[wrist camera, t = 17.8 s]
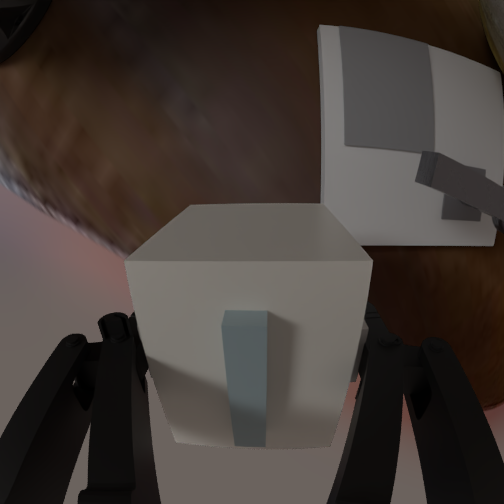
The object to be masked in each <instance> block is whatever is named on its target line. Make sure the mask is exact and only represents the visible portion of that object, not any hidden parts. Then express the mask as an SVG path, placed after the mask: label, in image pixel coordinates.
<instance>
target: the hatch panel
mask: <svg viewBox="0 0 504 504" xmlns="http://www.w3.org/2000/svg"><path fill="white" fill-rule="evenodd" d="M317 39H318V54H319V71H320V95H321V204H324V205H325V206H326V207H327V209H328V210H329V211H330V212H331V213H332V214H333V215H334V216H335V217H336V218H337V220H338V221H339V222H340V223H341V224H342V225H343V226H344V227H345V228H346V230H347V231H348V232H349V233H350V234H351V235H352V236H353V238H354V239H355V240H356V241H357V242H358V243H359V245H404V246H494V242H495V237H496V231H497V229H496V228H495V227H494V224H493V221H492V216H490V215H487V214H485V213H483V212H481V211H478V210H476V209H474V208H471V207H469V206H467V205H464V204H463V203H462V202H461V201H459V200H457V199H455V198H453V197H451V196H448V195H446V194H444V193H441V192H439V191H437V190H434V189H432V188H429V187H427V186H424V185H422V184H419V183H417V182H415V178H416V175H417V171H418V167H419V163H420V159H421V155H422V151H430V152H439V153H441V154H443V155H445V156H447V157H449V158H451V159H453V160H455V161H457V162H459V163H461V164H463V165H465V166H467V167H469V168H471V169H472V170H474V171H476V172H478V173H480V174H481V175H483V176H485V177H487V178H488V179H490V180H492V181H493V182H495V183H497V184H498V185H500V186H502V187H503V175H504V103H503V91H502V82H501V74H500V72H498V71H496V70H494V69H492V68H489V67H487V66H485V65H483V64H480V63H478V62H475V61H473V60H470V59H468V58H465V57H463V56H460V55H457V54H455V53H452V52H449V51H446V50H443V49H440V48H437V47H433V46H430V45H428V44H426V43H423V42H419V41H416V40H412V39H408V38H404V37H400V36H396V35H391V34H386V33H382V32H376V31H371V30H365V29H359V28H353V27H345V26H339V27H338V26H329V25H319V28H318V30H317Z"/></svg>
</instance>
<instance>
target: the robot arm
mask: <svg viewBox="0 0 504 504" xmlns="http://www.w3.org/2000/svg"><path fill="white" fill-rule="evenodd" d="M51 1H52V0H0V62H2V61H4V60H6V59H7V58H8V57H10V56H11V55H12V54H13V53H14V52H15V51H16V50H17V49H18V48H19V47H20V46H21V45H22V44H23V43H24V42H25V41H26V39H27V38H28V37H29V36H30V34H31V33H32V32H33V30H34V29H35V28H36V26H37V25H38V23H39V22H40V20H41V19H42V17H43V15H44V14H45V12H46V10H47V8H48V7H49V5H50V3H51ZM98 326H99V329H100V332H101V334H102V338H103V342H96V343H88V342H87V339H86V337H85V336H84V335H83V334H71V335H68V336H67V337H65V338H63V339H62V340H61V342H60V343H59V344H58V346H57V347H56V349H55V350H54V351H53V353H52V354H51V356H50V357H49V359H48V360H47V362H46V363H45V365H44V366H43V368H42V369H41V371H40V372H39V374H38V375H37V377H36V378H35V380H34V381H33V383H32V385H31V386H30V388H29V389H28V391H27V392H26V394H25V396H24V397H23V399H22V401H21V402H20V404H19V406H18V407H17V409H16V411H15V412H14V414H13V416H12V418H11V419H10V421H9V423H8V425H7V426H6V428H5V430H4V432H3V434H2V436H1V438H0V504H63V502H64V499H65V495H66V492H67V489H68V485H69V482H70V479H71V476H72V473H73V470H74V467H75V464H76V461H77V458H78V455H79V452H80V450H81V447H82V444H83V441H84V439H85V436H86V433H87V431H88V428H89V425H90V423H91V427H90V439H89V455H88V484H87V485H88V486H87V488H86V489H85V490H81V491H80V493H79V495H78V504H161V501H160V495H159V489H158V483H157V476H156V470H155V462H154V455H153V447H152V437H151V427H150V416H149V402H148V385H147V380H146V377H145V374H146V372H147V370H148V368H149V364H148V361H147V357H146V354H145V350H144V347H143V343H142V339H141V336H140V332H139V328H138V324H137V320H136V316H135V311H134V312H133V313H132V315H131V317H129V319H128V316H127V315H126V314H124V313H120V312H115V313H110V314H107V315H105V316H103V317H102V318H101V319H99V321H98ZM149 371H150V368H149ZM358 372H359V375H360V378H361V381H360V384H359V388H358V391H357V395H356V397H355V399H356V402H355V407H354V411H353V416H352V420H351V424H350V428H349V432H348V436H347V440H346V443H345V447H344V451H343V454H342V458H341V461H340V464H339V468H338V471H337V474H336V477H335V480H334V483H333V487H332V489H331V493H330V495H329V498H328V501H327V504H390V502H391V497H392V491H393V486H394V480H395V474H396V468H397V460H398V452H399V444H400V434H401V422H402V406H403V394H404V396H405V400H406V404H407V407H408V411H409V415H410V419H411V423H412V427H413V431H414V435H415V440H416V444H417V449H418V454H419V458H420V463H421V469H422V474H423V480H424V486H425V492H426V498H427V504H504V463H503V460H502V457H501V454H500V452H499V449H498V446H497V444H496V441H495V438H494V436H493V434H492V431H491V428H490V426H489V424H488V421H487V419H486V417H485V414H484V412H483V410H482V407H481V405H480V403H479V401H478V399H477V397H476V395H475V392H474V390H473V388H472V386H471V384H470V382H469V380H468V378H467V376H466V374H465V372H464V370H463V368H462V367H461V365H460V363H459V361H458V359H457V357H456V355H455V354H454V352H453V350H452V348H451V346H450V345H449V344H448V343H447V342H446V341H444V340H443V339H441V338H437V337H430V338H426V339H425V340H423V342H422V345H421V347H417V346H409V345H404V344H403V341H402V339H401V338H400V337H399V336H397V335H395V334H393V333H389V331H388V329H387V328H386V326H385V324H384V322H383V321H382V319H381V318H380V315H379V314H378V313H377V310H376V308H375V307H374V305H372V304H371V303H369V302H368V301H367V304H366V310H365V315H364V321H363V326H362V331H361V336H360V340H359V345H358V350H357V354H356V358H355V363H354V367H353V371H352V375H351V379H350V382H356V379H357V375H358ZM150 375H151V377H152V374H151V371H150ZM152 378H153V377H152ZM74 380H75V383H74V385H73V381H74Z"/></svg>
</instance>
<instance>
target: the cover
mask: <svg viewBox="0 0 504 504" xmlns="http://www.w3.org/2000/svg"><path fill="white" fill-rule="evenodd" d="M124 263H125V268H126V273H127V279H128V284H129V289H130V294H131V298H132V303H133V307H134V311H135V316H136V320H137V324H138V328H139V332H140V336H141V339H142V343H143V347H144V350H145V354H146V357H147V361H148V364H149V368H150V371H151V374H152V377H153V380H154V384H155V387H156V390H157V393H158V396H159V398H160V401H161V404H162V407H163V410H164V413H165V416H166V418H167V421H168V424H169V426H170V429H171V432H172V434H173V437H174V439H175V442H178V443H186V444H193V445H202V446H212V447H224V448H240V449H301V448H319V447H330V446H331V443H332V440H333V437H334V434H335V431H336V428H337V425H338V421H339V418H340V415H341V412H342V408H343V405H344V401H345V398H346V394H347V390H348V387H349V383H350V379H351V375H352V371H353V367H354V363H355V358H356V354H357V350H358V345H359V340H360V336H361V331H362V326H363V321H364V315H365V310H366V304H367V298H368V292H369V286H370V279H371V272H372V265H373V260H372V259H371V258H370V256H369V255H368V254H367V253H366V252H365V250H364V249H363V248H362V247H361V246H360V245H359V243H358V242H357V241H356V240H355V239H354V238H353V236H352V235H351V234H350V233H349V232H348V231H347V230H346V228H345V227H344V226H343V225H342V224H341V223H340V222H339V221H338V220H337V218H336V217H335V216H334V215H333V214H332V213H331V212H330V211H329V210H328V209H327V207H326V206H325V205H324V204H309V203H254V204H206V205H190V206H189V207H188V208H186V209H185V210H184V211H183V212H181V213H180V214H179V215H178V216H176V217H175V218H174V219H173V220H171V221H170V222H169V223H168V224H167V225H165V226H164V227H163V228H162V229H161V230H159V231H158V232H157V233H156V234H155V235H153V236H152V237H151V238H150V239H149V240H147V241H146V242H145V243H144V244H143V245H142V246H140V247H139V248H138V249H137V250H136V251H135V252H134V253H132V254H131V255H130V256H129V257H128V258H127V259H126V260H124Z"/></svg>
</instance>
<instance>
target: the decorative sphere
mask: <svg viewBox="0 0 504 504" xmlns="http://www.w3.org/2000/svg"><path fill="white" fill-rule="evenodd" d="M479 10H480V16H481V21H482V25H483V29H484V32H485V35H486V38H487V41H488V43H489V46H490V48H491V51H492V53H493V55H494V57H495V59H496V61H497V63H498V65H499V67H500V68H501V70H502V72H503V73H504V0H479Z"/></svg>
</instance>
